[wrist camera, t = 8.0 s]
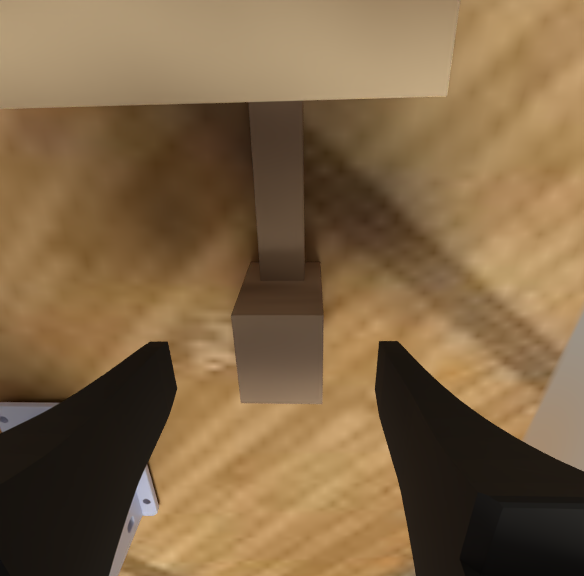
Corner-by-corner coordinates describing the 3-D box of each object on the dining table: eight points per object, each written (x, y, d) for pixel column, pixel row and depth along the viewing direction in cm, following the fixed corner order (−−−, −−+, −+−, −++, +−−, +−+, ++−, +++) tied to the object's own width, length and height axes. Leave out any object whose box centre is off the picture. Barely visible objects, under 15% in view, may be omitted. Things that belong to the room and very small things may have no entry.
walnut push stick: (337, 335, 19) (345, 404, 15) (238, 335, 19) (218, 402, 15) (351, -71, 12) (373, -163, 8) (197, -63, 12) (137, -150, 8)
